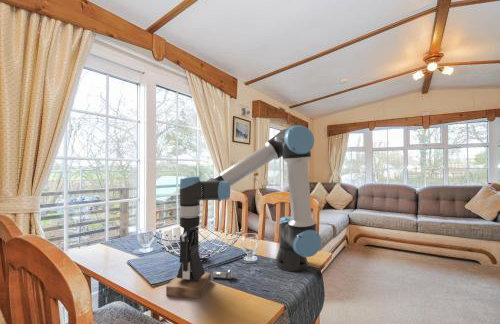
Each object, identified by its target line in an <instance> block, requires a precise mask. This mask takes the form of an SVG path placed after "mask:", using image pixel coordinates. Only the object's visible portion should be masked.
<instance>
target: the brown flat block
mask: <svg viewBox="0 0 500 324" xmlns="http://www.w3.org/2000/svg"><path fill="white" fill-rule="evenodd" d="M177 275H178V273H177V274H176V275H175V277H173V278H172V279H171V280H170V281H169V283H167V285H166V286H165V294H166V297H176V298H189V299H200V298H202V296H203V294H204V293H205V291H206V290H207V288H208V287H209V284H210V283H211V278H212V274H211V272H205V274H204V275H203V276H202V277H201V278H200V279H199V280H198V281H195V280H188V279H181V278H177Z"/></svg>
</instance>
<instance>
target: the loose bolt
mask: <svg viewBox="0 0 500 324" xmlns="http://www.w3.org/2000/svg"><path fill="white" fill-rule="evenodd" d="M211 278H214V279H226V280H232V278H233V269H232V268H229V269H227V272H226V271H224V272H223V271H212V274H211Z"/></svg>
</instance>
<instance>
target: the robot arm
mask: <svg viewBox="0 0 500 324" xmlns="http://www.w3.org/2000/svg"><path fill="white" fill-rule="evenodd" d="M314 144H315V136H314V133H313V132H312V130H310V129H309V127H306V126H304V125H299V124H298V125H292V126H289V127H288V128H284V129H282V130H280V131H279V132H278V133H276V134H275V135H274V136H273V137H272V138H270V139H268V140H267V141H266V142H265V144H264V145H263V146H261V147H259V148H258V149H256V150H255V151H253V152H252V153H250V154H249V155H247V156H245V157H244V158H242V159H241V160H239V161H237V162H236V163H234V164H232V165H231V166H230V167H228V168H227V169H225V170H222V172H219V174H217V175H215V176H213V177H211V178H209V179H207V180H206V181H204V180H203V181H202V180H200V179H201V178H200V177H199V176H198V175H195V176H194V175H186V176H185V175H183V176H182V177H180V179H179V207H178V209H179V215H180V217H179V226H180V227H181V228H182V229H183V232H182V233H183V234H182V235H179V263H180V264H181V263H183V279H190V271H192V270H191V266H190V261H189V257H190V248H191V244H192V243H193V244H192V245H194V244H195V243H197V245H198V253H199V254H200V251H199V250H200V247H199V245H200V244H199V242H200V240H199V229H200V228H199V226H200V225H201V224H200V222H201V221H200V218H201V217H200V211H201V210H200V208H201V207H200V206H201V205H200V201H224V200H229V199H230V198H231V186H233V185H235V184H236V183H237V182H238V183H239V181H241V180H243V179H244V178H246V177H247V176H249V175H250V174H252V173H254V172H255V171H257V170H259V169H260V168H262V167H263V166H265V165H267V164H268V163H270V162H271V161H273V160H278V159H280V158H281V157H282V159H283V161H284V162H285V163H286V166H287V179H288V191H289V192H288V195H289V205H290V206H289V207H290V216H289V215H288V216H282V217H280V218H279V223H278V226H279V237H278V238H279V242H278V243H279V244H278V245H279V247H278V248H279V249H278V251H277V254H276V258H275V266H276V267H277V268H278V269H280V270H283V271H286V272H302V271H304V270H306V269H307V268H308V266H309V264H308V258H310V257H313V256H315V255H316V254H318V252H320V249H321V248H322V244H323V243H322V237H321V235H320V234H319V232H318V230H317V222H316V220H315V219H314V218H313V217H312V204H311V191H310V190H311V189H310V176H309V175H310V174H309V165H308V163H309V160H310V159H311V157H312V155H311V154H312V153H311V150H312V149H313V147H314V146H315V145H314Z"/></svg>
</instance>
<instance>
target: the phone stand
mask: <svg viewBox="0 0 500 324" xmlns="http://www.w3.org/2000/svg"><path fill="white" fill-rule="evenodd" d="M192 244H193V243H192ZM192 244H191V248H190V257H189V261H190V266H191V270H192V271H190V279H188V280H195V281H198V280H199V279H200V278H201V277H202V276H203V275H204V274H205V273H206V272H205V269H204V265H203V262H202V259H201V257H200V252H199V253H198V251H199V250H198V245H197V243H195V244H194V245H192ZM177 274H178V275H177ZM177 274H176V275H177V278H181V279H183V263H180V266H179V269H178V272H177Z"/></svg>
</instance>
